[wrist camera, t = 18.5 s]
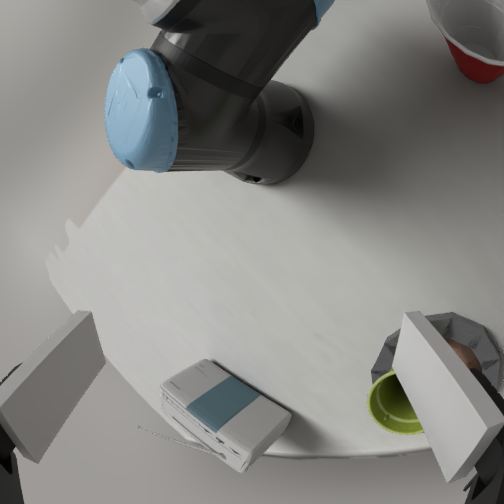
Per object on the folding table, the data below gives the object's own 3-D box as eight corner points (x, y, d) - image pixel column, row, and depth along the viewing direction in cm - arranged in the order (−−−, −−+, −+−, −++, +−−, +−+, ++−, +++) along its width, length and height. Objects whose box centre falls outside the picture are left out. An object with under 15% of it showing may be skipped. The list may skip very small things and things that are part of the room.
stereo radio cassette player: (297, 409, 47) (222, 483, 32) (285, 434, 50) (217, 501, 35) (208, 353, 58) (126, 398, 42) (205, 380, 61) (131, 425, 45)
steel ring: (351, 360, 40) (347, 366, 38) (456, 285, 30) (456, 289, 28) (414, 440, 35) (412, 447, 33) (516, 384, 25) (518, 392, 23)
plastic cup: (533, 79, 18) (559, 38, 8) (477, 119, 24) (489, 86, 15) (474, 12, 19) (472, -44, 10) (419, 48, 26) (401, -3, 16)
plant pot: (401, 323, 34) (386, 356, 27) (464, 348, 29) (462, 388, 22) (375, 379, 37) (355, 416, 30) (432, 402, 32) (421, 444, 25)
